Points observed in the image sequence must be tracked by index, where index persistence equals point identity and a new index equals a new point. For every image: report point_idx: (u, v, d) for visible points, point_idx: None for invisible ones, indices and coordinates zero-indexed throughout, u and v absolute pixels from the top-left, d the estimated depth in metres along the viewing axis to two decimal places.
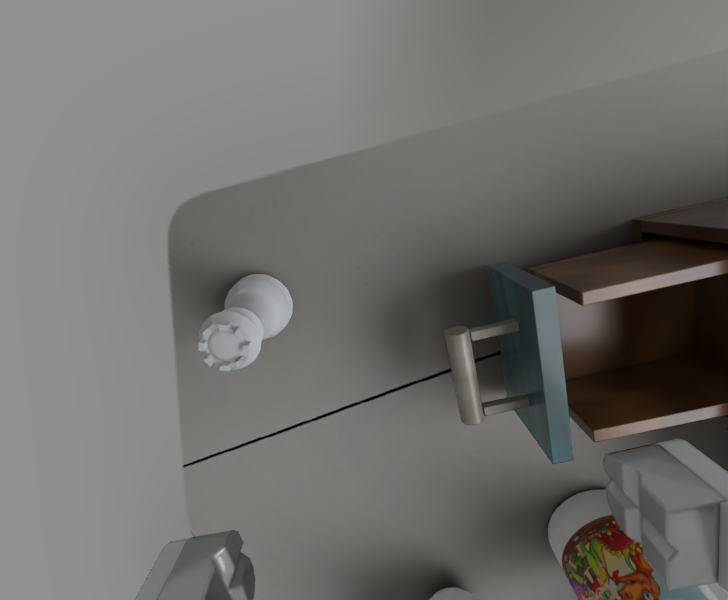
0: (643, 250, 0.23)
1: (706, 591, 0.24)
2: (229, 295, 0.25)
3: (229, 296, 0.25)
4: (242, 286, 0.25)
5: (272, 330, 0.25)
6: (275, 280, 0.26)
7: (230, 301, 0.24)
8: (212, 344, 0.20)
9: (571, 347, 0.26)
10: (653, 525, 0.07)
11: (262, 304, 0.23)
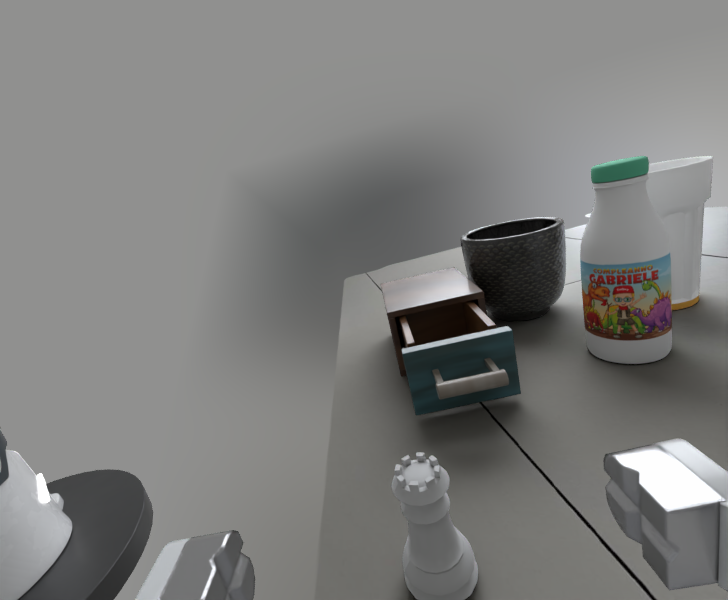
0: None
1: None
2: (415, 576, 0.22)
3: (416, 576, 0.22)
4: (407, 560, 0.23)
5: None
6: None
7: (417, 562, 0.22)
8: (414, 481, 0.21)
9: None
10: (653, 525, 0.07)
11: None
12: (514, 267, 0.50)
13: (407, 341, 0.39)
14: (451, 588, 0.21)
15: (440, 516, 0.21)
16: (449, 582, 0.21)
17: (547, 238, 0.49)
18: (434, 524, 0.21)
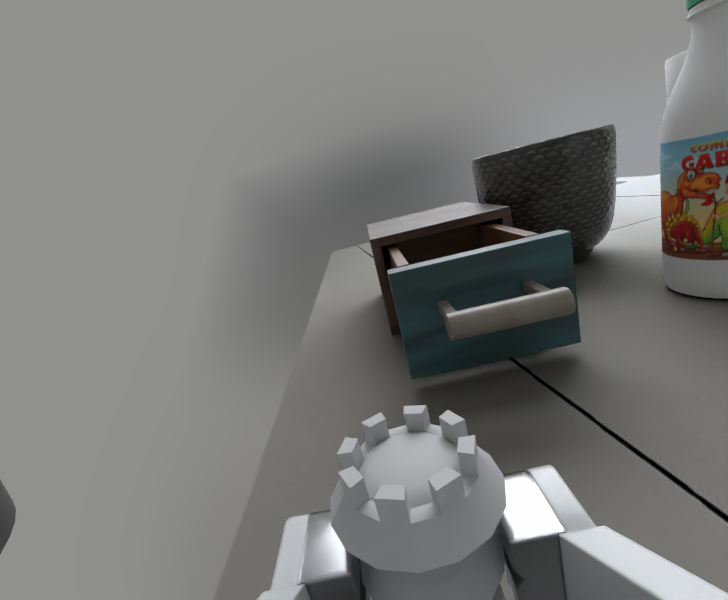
0: None
1: (660, 177, 0.28)
2: None
3: None
4: None
5: None
6: None
7: None
8: (396, 485, 0.06)
9: None
10: (508, 553, 0.07)
11: None
12: (549, 185, 0.36)
13: (397, 264, 0.25)
14: None
15: (478, 598, 0.06)
16: None
17: (596, 142, 0.35)
18: None
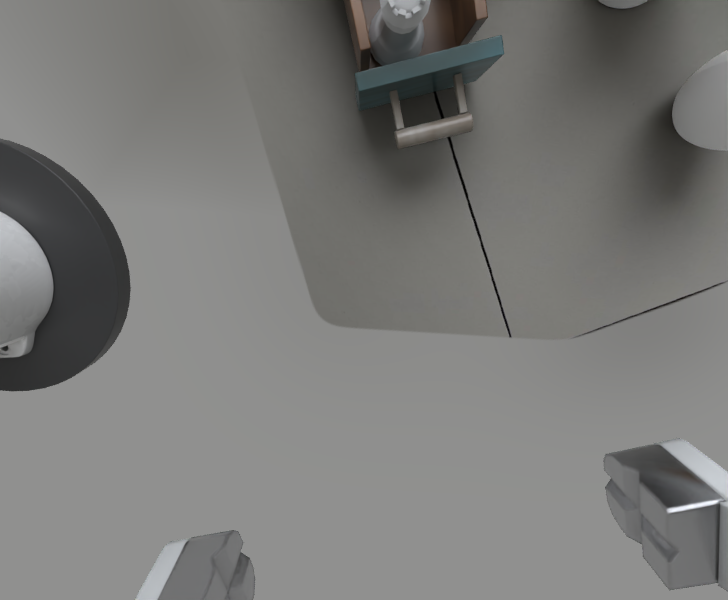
0: None
1: None
2: (380, 51, 0.30)
3: (380, 51, 0.30)
4: (374, 37, 0.30)
5: None
6: None
7: (383, 44, 0.29)
8: (402, 5, 0.24)
9: (425, 29, 0.31)
10: (653, 525, 0.07)
11: None
12: None
13: (359, 40, 0.27)
14: None
15: (413, 27, 0.26)
16: (403, 59, 0.30)
17: None
18: (406, 31, 0.27)
